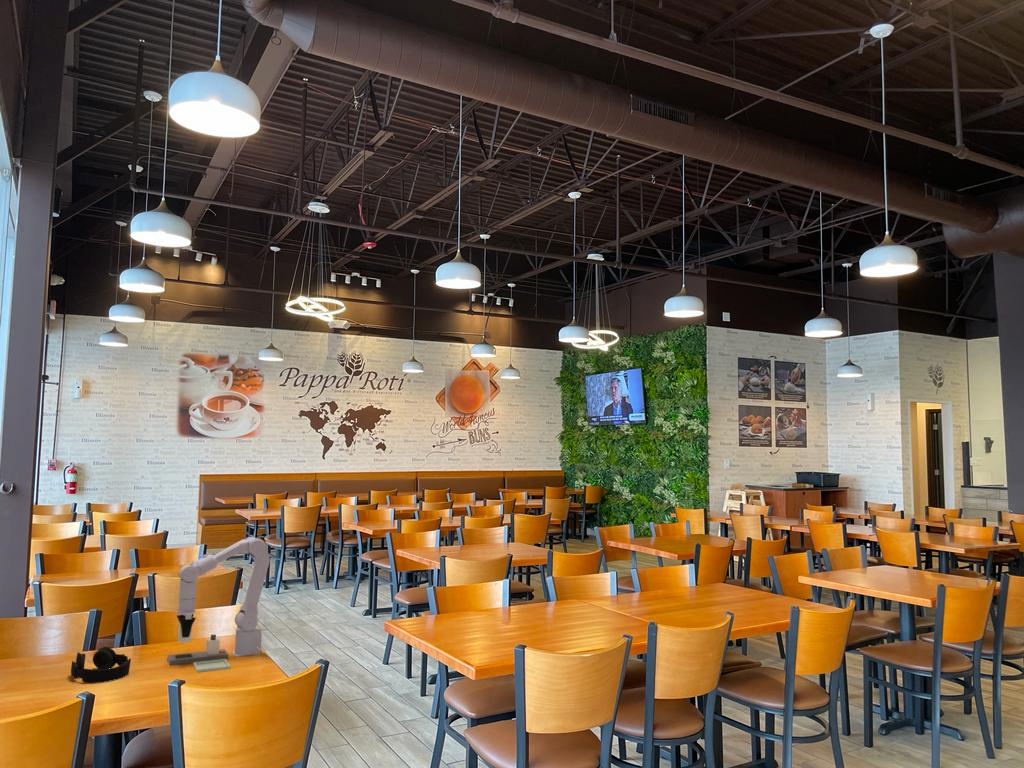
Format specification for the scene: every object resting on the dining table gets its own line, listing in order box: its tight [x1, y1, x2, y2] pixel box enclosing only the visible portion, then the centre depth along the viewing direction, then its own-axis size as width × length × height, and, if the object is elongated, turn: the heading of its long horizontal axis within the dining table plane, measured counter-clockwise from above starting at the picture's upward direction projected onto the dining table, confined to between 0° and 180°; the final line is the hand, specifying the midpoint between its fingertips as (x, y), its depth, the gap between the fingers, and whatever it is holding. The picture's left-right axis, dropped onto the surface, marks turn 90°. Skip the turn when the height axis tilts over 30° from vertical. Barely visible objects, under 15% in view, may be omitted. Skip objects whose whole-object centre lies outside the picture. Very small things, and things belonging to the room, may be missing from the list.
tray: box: [192, 659, 232, 673], centre depth 267 cm, size 11×11×1 cm
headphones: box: [70, 646, 132, 684], centre depth 256 cm, size 18×8×20 cm
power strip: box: [167, 634, 229, 666], centre depth 277 cm, size 20×9×9 cm, turn 120°
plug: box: [177, 617, 193, 644], centre depth 275 cm, size 4×4×9 cm
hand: (184, 635), depth 275 cm, fingers closed on plug, 4 cm apart
